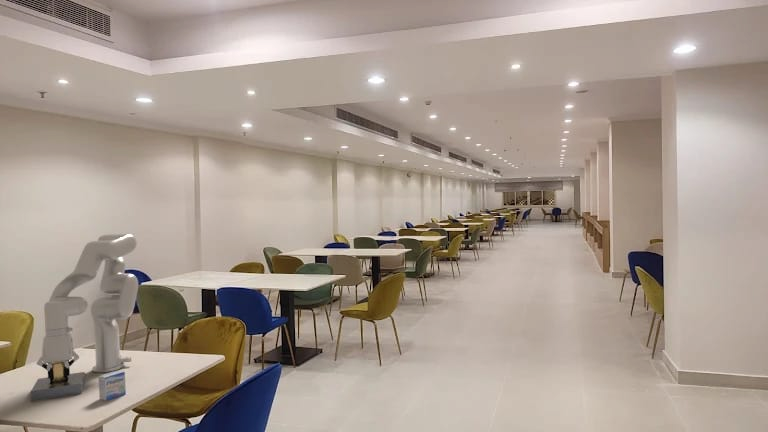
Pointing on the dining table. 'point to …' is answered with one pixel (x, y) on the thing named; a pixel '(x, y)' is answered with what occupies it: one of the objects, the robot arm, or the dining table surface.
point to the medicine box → (112, 385)
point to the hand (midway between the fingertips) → (59, 378)
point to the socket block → (58, 387)
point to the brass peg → (58, 372)
